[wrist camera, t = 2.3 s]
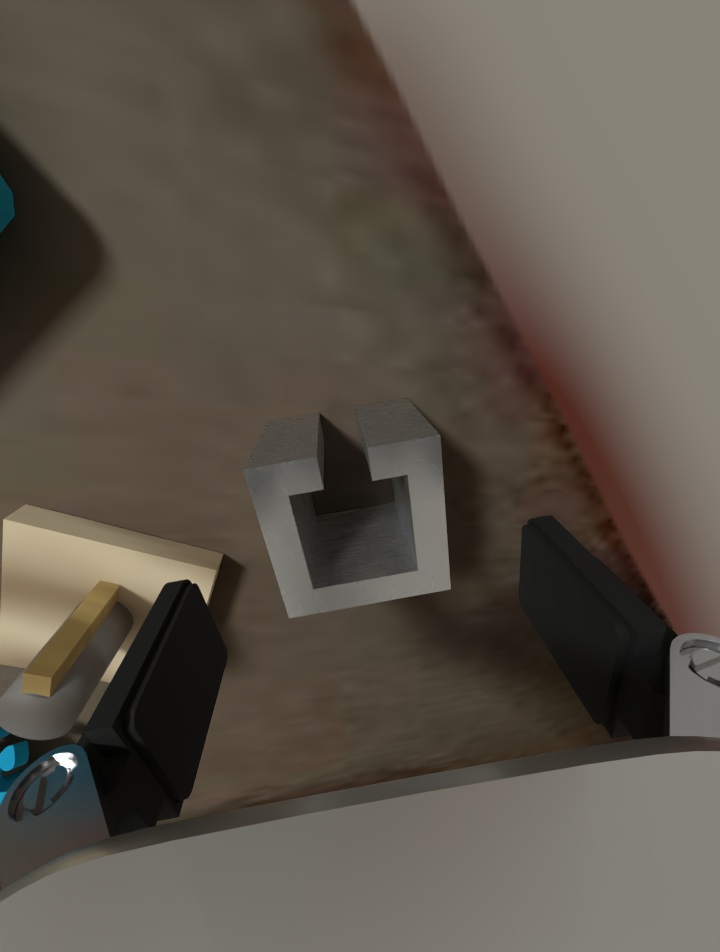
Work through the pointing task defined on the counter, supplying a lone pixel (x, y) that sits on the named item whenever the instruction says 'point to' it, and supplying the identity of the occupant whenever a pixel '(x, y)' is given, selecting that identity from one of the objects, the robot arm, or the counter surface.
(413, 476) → the grey hollow block
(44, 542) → the keyed post stand
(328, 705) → the counter surface
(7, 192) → the ice cube tray
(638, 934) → the robot arm
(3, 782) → the gear
